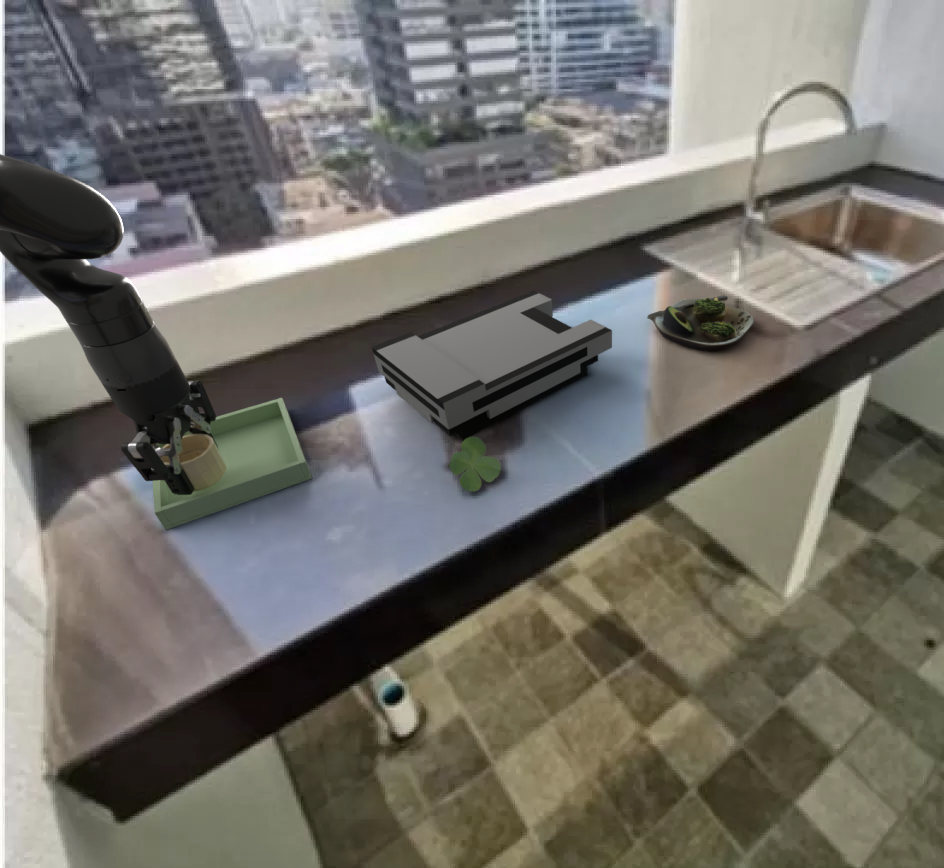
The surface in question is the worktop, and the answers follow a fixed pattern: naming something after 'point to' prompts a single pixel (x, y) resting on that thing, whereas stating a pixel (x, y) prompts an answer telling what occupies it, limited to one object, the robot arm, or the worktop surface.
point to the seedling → (474, 464)
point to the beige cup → (200, 460)
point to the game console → (490, 363)
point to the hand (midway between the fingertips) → (199, 473)
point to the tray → (241, 464)
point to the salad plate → (702, 323)
